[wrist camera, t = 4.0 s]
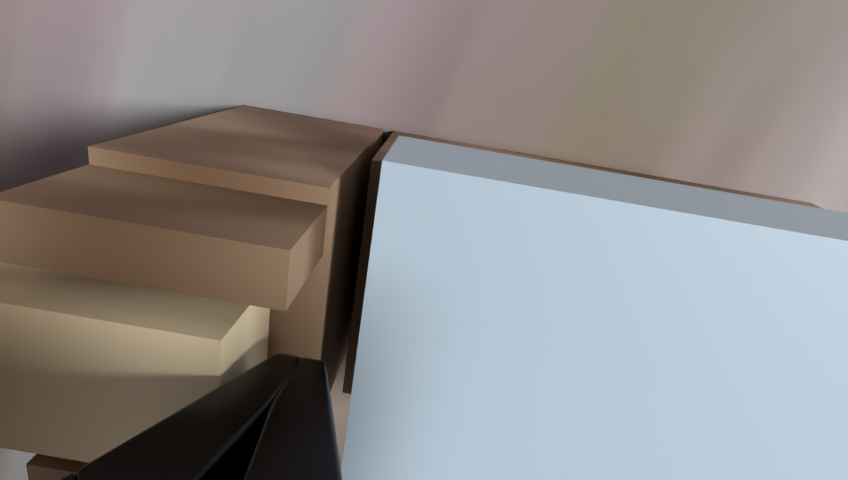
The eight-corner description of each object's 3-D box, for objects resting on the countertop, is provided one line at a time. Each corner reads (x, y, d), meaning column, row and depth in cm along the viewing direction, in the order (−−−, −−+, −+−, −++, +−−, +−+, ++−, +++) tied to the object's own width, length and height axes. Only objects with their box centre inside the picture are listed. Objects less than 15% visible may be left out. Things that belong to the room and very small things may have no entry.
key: (272, 262, 9) (207, 337, 6) (264, 412, 10) (206, 522, 7) (-176, 184, 9) (-400, 232, 6) (-131, 344, 10) (-308, 432, 7)
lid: (926, 226, 10) (1064, 278, 8) (782, 488, 13) (853, 584, 11) (399, 135, 10) (382, 160, 8) (359, 414, 13) (337, 495, 11)
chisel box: (810, 202, 14) (1251, 395, 6) (730, 377, 16) (985, 682, 9) (244, 105, 14) (-21, 174, 6) (238, 292, 16) (34, 518, 8)
